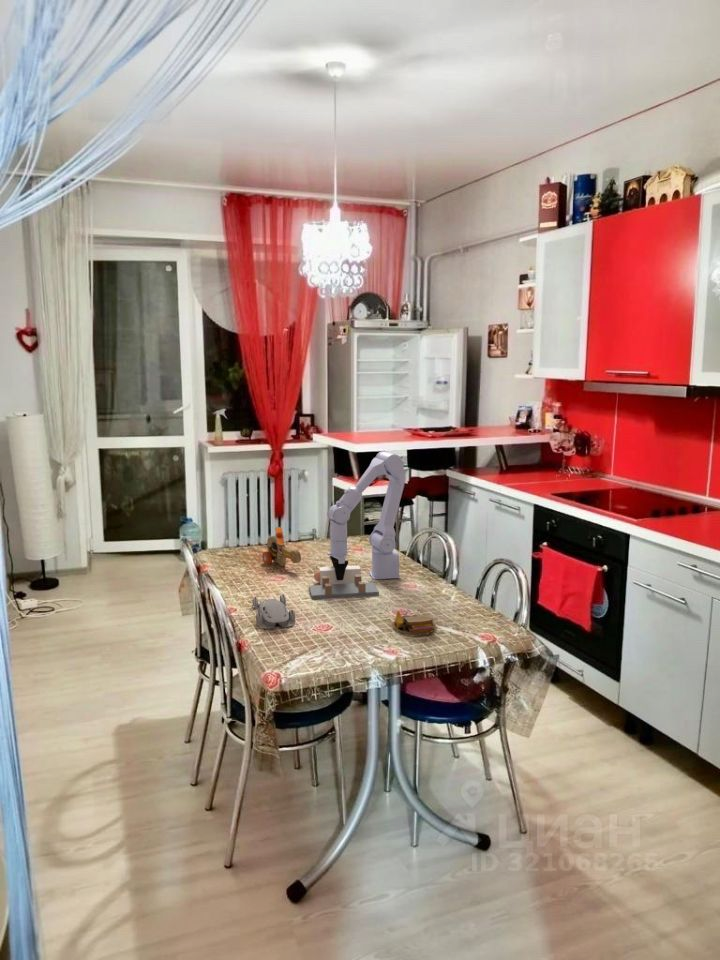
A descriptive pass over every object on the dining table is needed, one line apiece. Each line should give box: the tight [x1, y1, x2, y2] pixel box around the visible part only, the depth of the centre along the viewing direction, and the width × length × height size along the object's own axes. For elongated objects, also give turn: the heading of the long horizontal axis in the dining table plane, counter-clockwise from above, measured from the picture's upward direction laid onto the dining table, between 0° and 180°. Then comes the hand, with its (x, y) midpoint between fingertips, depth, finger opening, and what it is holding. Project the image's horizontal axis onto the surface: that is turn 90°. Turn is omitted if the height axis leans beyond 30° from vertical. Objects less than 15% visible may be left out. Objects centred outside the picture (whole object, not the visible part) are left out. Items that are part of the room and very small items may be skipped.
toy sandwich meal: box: [391, 610, 437, 636], centre depth 208 cm, size 12×14×5 cm
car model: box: [252, 593, 296, 630], centre depth 218 cm, size 11×24×5 cm, turn 14°
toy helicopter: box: [261, 526, 302, 567], centre depth 267 cm, size 8×21×14 cm, turn 38°
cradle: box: [308, 574, 380, 600], centre depth 239 cm, size 22×10×4 cm, turn 99°
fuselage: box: [313, 565, 362, 585], centre depth 250 cm, size 16×4×5 cm, turn 99°
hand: (339, 577), depth 250 cm, fingers closed on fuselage, 4 cm apart
